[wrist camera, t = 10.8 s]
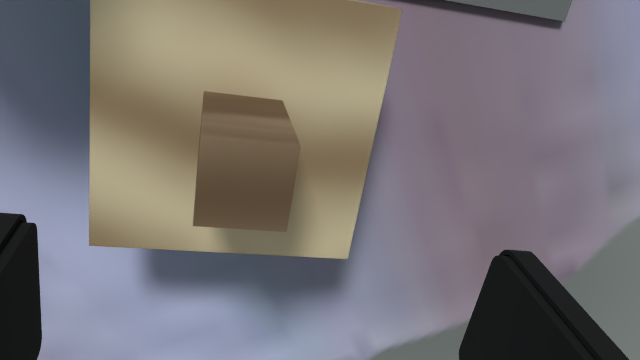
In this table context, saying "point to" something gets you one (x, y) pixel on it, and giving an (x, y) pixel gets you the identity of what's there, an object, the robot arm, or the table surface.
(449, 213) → the table surface
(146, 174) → the lid
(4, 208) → the table surface
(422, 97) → the table surface
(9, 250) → the robot arm
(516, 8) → the mat
